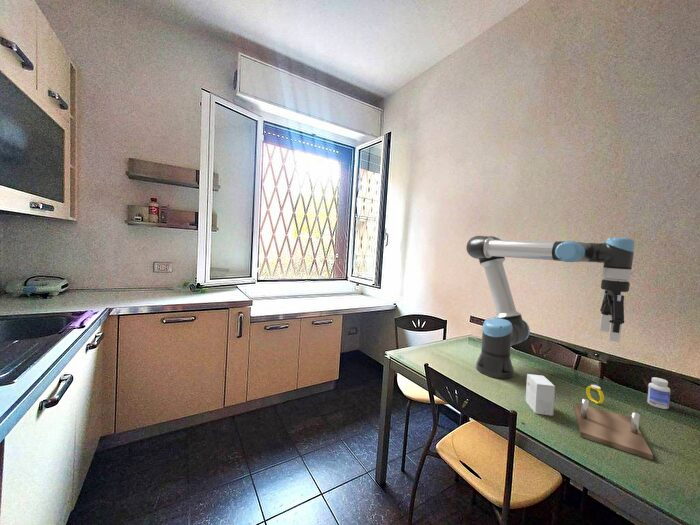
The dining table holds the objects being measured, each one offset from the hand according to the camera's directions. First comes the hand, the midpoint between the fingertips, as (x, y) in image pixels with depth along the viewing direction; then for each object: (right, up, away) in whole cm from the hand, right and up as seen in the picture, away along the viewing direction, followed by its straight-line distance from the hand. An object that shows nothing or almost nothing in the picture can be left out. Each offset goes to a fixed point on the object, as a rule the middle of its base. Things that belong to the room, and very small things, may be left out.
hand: (608, 335), depth 103 cm
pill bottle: (+17, -26, -1) cm, 30 cm away
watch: (-6, -25, 0) cm, 25 cm away
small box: (-31, -24, -6) cm, 39 cm away
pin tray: (-16, -25, -16) cm, 34 cm away
